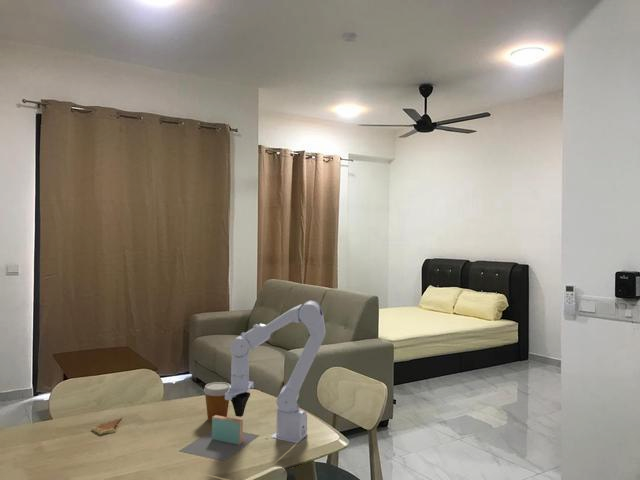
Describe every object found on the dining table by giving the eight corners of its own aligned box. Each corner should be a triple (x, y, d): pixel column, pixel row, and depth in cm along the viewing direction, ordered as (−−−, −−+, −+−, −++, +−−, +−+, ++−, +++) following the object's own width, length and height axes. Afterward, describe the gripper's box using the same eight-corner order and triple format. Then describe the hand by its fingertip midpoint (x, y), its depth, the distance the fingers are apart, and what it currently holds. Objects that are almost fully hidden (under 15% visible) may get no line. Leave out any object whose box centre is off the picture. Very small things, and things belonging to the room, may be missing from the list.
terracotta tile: (242, 442, 154) (242, 420, 154) (238, 445, 152) (239, 422, 152) (215, 437, 157) (215, 415, 157) (211, 439, 156) (211, 417, 155)
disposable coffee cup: (228, 425, 168) (228, 390, 168) (199, 425, 168) (200, 389, 168) (233, 415, 177) (234, 382, 177) (206, 414, 177) (207, 381, 177)
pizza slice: (122, 421, 171) (122, 416, 171) (134, 427, 166) (134, 422, 166) (91, 431, 162) (91, 425, 162) (103, 437, 157) (103, 432, 157)
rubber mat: (259, 436, 160) (259, 435, 159) (224, 462, 141) (224, 461, 141) (217, 428, 166) (217, 427, 166) (178, 452, 147) (178, 450, 147)
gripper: (241, 367, 169) (240, 406, 169) (216, 378, 156) (216, 421, 156) (259, 369, 166) (258, 410, 167) (236, 381, 153) (235, 425, 153)
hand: (239, 415), depth 161 cm, fingers closed
